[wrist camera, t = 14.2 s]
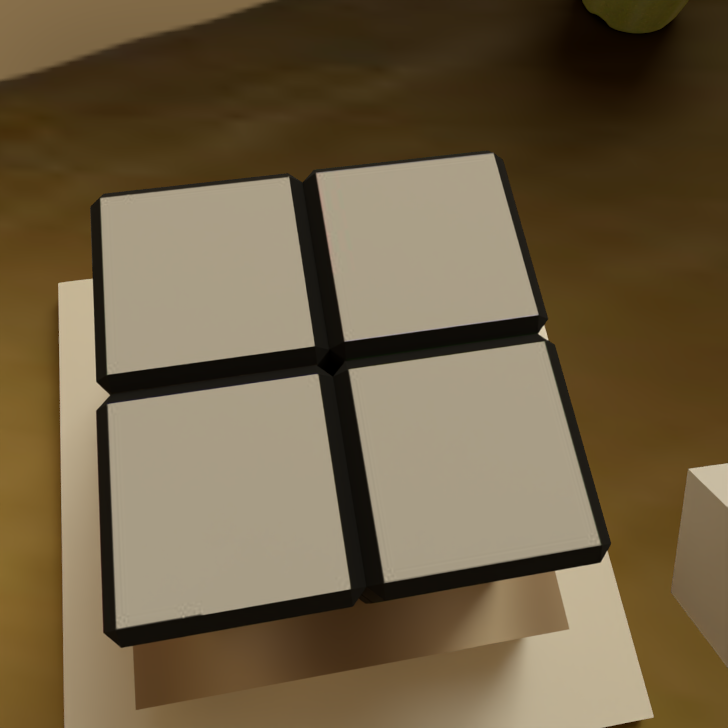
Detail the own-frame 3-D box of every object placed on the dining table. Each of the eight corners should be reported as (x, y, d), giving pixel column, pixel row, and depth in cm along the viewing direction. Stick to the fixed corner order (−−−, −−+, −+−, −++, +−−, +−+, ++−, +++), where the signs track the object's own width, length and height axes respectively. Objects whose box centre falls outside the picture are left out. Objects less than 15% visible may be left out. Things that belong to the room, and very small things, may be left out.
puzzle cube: (201, 634, 21) (97, 653, 12) (178, 347, 25) (83, 187, 15) (502, 579, 22) (624, 558, 13) (441, 310, 26) (502, 138, 16)
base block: (454, 309, 31) (475, 256, 27) (528, 625, 27) (569, 629, 22) (151, 350, 30) (117, 302, 25) (172, 691, 25) (135, 710, 21)
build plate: (511, 236, 34) (516, 225, 33) (642, 713, 27) (653, 717, 26) (66, 292, 32) (58, 283, 31) (76, 827, 24) (65, 836, 24)
